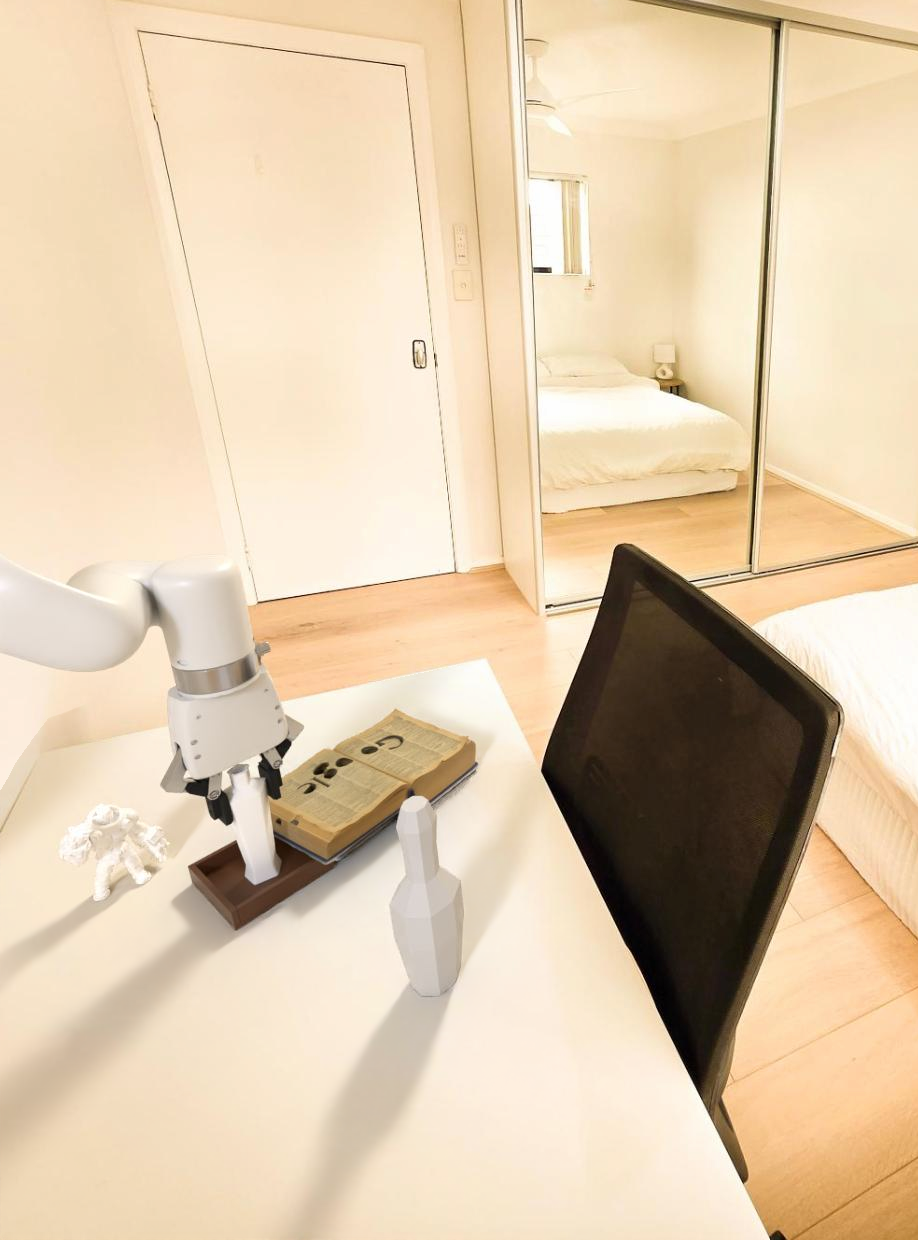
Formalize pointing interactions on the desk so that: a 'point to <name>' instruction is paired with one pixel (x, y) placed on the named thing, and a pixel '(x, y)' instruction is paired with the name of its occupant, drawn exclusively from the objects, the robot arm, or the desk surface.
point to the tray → (241, 898)
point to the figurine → (113, 844)
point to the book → (367, 784)
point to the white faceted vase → (252, 824)
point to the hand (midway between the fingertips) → (248, 805)
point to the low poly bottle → (426, 904)
